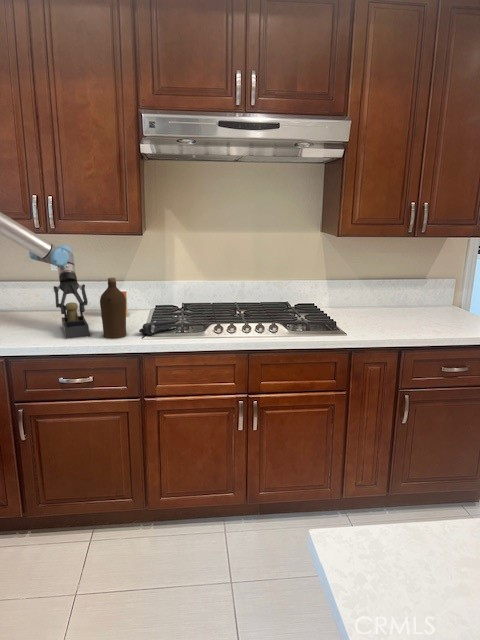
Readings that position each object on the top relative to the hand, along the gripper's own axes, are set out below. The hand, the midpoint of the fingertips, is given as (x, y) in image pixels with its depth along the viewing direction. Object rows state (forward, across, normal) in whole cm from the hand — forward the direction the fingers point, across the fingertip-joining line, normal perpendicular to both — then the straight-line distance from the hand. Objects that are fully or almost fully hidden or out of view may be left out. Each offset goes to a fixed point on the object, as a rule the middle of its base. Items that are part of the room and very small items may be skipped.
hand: (74, 318), depth 203 cm
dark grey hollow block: (+4, 0, +4) cm, 6 cm away
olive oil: (+13, +15, -5) cm, 20 cm away
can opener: (+14, +34, -7) cm, 37 cm away
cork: (+1, -1, +6) cm, 6 cm away
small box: (-10, +23, +19) cm, 31 cm away
